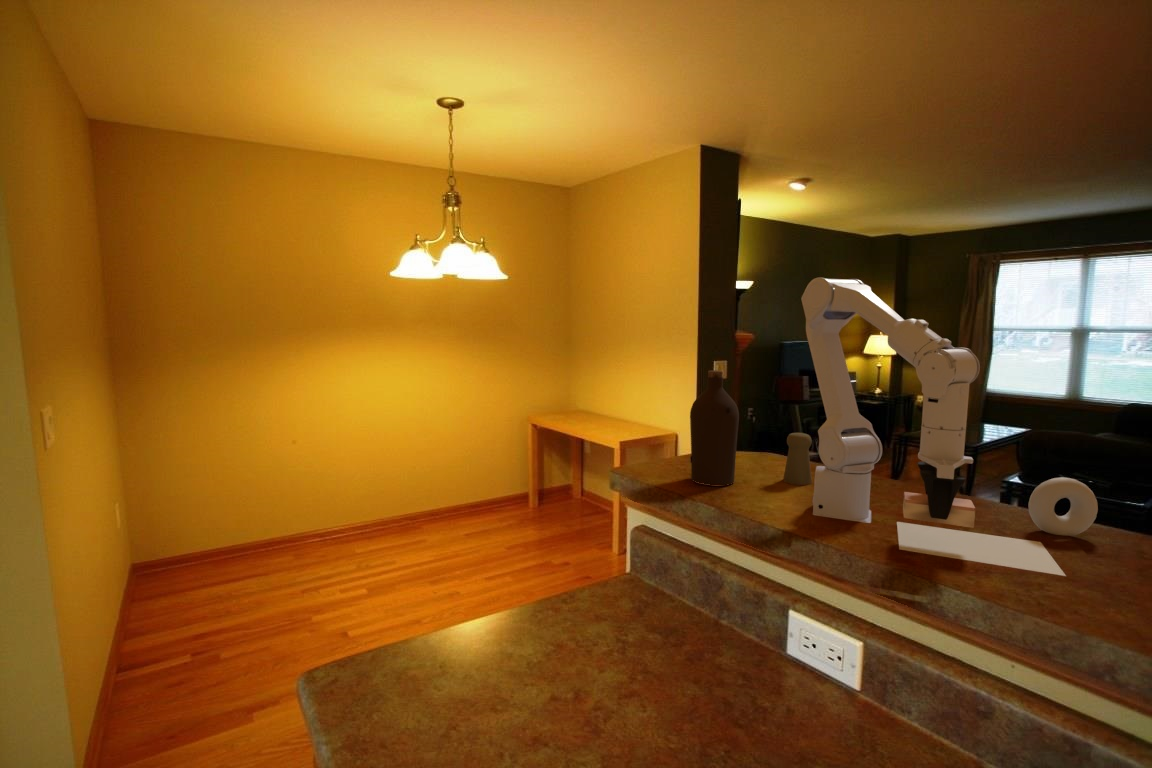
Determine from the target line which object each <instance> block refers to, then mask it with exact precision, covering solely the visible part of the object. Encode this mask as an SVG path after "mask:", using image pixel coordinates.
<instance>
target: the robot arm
mask: <svg viewBox="0 0 1152 768" xmlns="http://www.w3.org/2000/svg"><path fill="white" fill-rule="evenodd" d="M800 299H801V303H802V307H803V312H804V316H805V334H806V338H807V343H808V345H809V350H810V353H811V358H812V362H813V367H814V371H815V374H816V378H817V379H816V380H817V383H818V387H819V391H820V392H819V393H820V396H821V399H822V403H823V407H824V412H825V416H826V420H825V422H823V423H822V425H821V426H820V427H819V429H818V430H817V434H818V439H819V441H818V442H819V443H818V455H819V458H820V460H821V462H822V463H823V465H816V466H815V472H814V485H813V495H812V506H813V508H812V515H813V516H818V517H825V518H832V519H838V520H845V521H853V522H860V523H864V524H865V523H867V524H871V523H872V510H871V509H870V500H871V497H870V496H871V484H872V483H871V482H872V480H871V479H872V470H874V469H875V464H876V463H877V464H878V462H879V461H880V460H881V457H882V456H883V444H882V442H881V440H880V437H878V435H877V434H876V432H875V430H874V428H873V424H872V423H871V422H870V421H869V420H868V419H867V418H865V417H864V416H863V415H861V413H860V412H859V408H858V404H857V400H856V396H855V392H854V389H853V384H852V381H851V380H852V379H851V377H850V373H849V369H848V364H847V362H846V357H845V353H844V349H843V346H842V342H841V338H840V335H839V334H840V333H841V330H842V328H843V327H845V326H846V325H847V324H848V323H850V321H851V320H852V319H853V318H854V317H855V316H856V315H858V316H859V317H861V318H862V319H864V320H865V321H866V322H867V323H869V324H870V325H872V326H874V327H875V328H876V329H878V330H880V332H882V333H884V334H885V335H886V336H887V345H888V346H889V347H890V348H891V349H892V350H893V351H894V352H895V353H897V354H898V355H899V356H901V357H902V358H903V359H904V360H905V361H907V362H908V364H911V365H912V366H913V367H914V368H915V373H916V376H917V378H918V381H920V384H921V393H922V394H923V395H922V396H923V398H922V399H923V400H922V401H923V402H922V416H921V426H920V427H921V428H920V429H921V430H920V443H919V452H918V454H917V458H918V459H919V460H921V461H918V462H917V466H918V468H919V473H920V474H919V475H920V476H921V478H922V480H923V483H924V490H925V491H924V492H925V493H924V494H926V495H927V496H928V506H929V512H930V516H931V518H937V519H944V520H947V518H948V516H949V513H950V510H951V507H952V504H953V501H954V498H956V495H957V493H958V492H959V490H960V488H961V487H962V486H963V485H964V483H965V482H966V477H965V476H963V475H957V474H958V473H959V472H960V470H961V466H962V465H964V464H973V463H974V459H973V457H972V456H966V455H965V443H966V435H967V433H966V431H967V420H968V410H969V409H968V408H969V407H968V405H969V394H970V384H971V383H973V382H975V380H976V379H977V378H978V376H979V374H980V369H981V365H980V360H979V359H978V357H977V356H976V355H975V353H973V351H972V350H971V349H970V348H967V347H954V346H953V345H952V341H951V340H949V339H948V338H944V337H943V338H942V337H941V336H940V335H939V334H937V333H936V332H935V331H933V330H932V329H931V328H929V322H928V321H926V320H924V319H916V318H908V319H904V318H903V317H902V316H900V315H899V314H898V313H897V312H896V311H895V310H894V309H892V308H891V307H890V306H889V305H888V304H887V303H886V302H885V301H883V300H882V299H881V298H880V297H879V296H877V295H876V294H875V293H874V292H873V291H872V287H871V286H869V285H868V284H865V283H864V282H863V281H862V280H860V279H858V278H849V279H846V278H845V279H841V278H825V277H816V278H815V277H814V278H813V279H812V280H811V281H810V282H808V284H807V286H806V288H805V289H804V292H803V294H802V295H801V298H800Z"/></svg>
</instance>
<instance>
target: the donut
mask: <svg viewBox="0 0 1152 768" xmlns="http://www.w3.org/2000/svg"><path fill="white" fill-rule="evenodd" d="M1064 498H1066V499H1068V500H1069V503H1070V508H1069V510H1068V512H1066V514H1064V515H1057V514H1056V512H1055V506H1056V504H1057V503H1058V501H1060V500H1061V499H1064ZM1028 500H1029V501H1028V504H1027V505H1028V514H1029V516H1030V518H1031V520H1032V521H1033V523H1034V524H1035V526H1037V528H1039V529H1040V530H1041V531H1043V532H1044V533H1047V534H1051V535H1054V536H1055V535H1056V536H1070V537H1072V536H1077V535H1079V534H1082V533H1084V532H1085V531H1087V530H1088V529H1089V528H1090V527H1091V526H1092V525H1093V524H1094V522H1095V520H1096V518H1097V514H1098V511H1099V507H1098V500H1097V498H1096V495H1095V494H1094V492H1093V490H1091V488H1089V486H1088V485H1087V484H1085V483H1083V482H1081V481H1079V480H1078V479H1075V478H1070V477H1063V476H1061V477H1054V478H1051V479H1048V480H1045V481H1043V482H1041V483H1040V484H1039V485H1037V486H1036V487H1035V488H1034V490H1033V491H1032V493H1031V495H1030V497H1029V499H1028Z"/></svg>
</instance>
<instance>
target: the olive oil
mask: <svg viewBox="0 0 1152 768" xmlns="http://www.w3.org/2000/svg"><path fill="white" fill-rule="evenodd" d="M723 373H724V371H723V370H708V371H707V375H708V376H707V385H706V386H707V387H706V388H705V390H704V391H703V392H701V394H699V396H698V397H697V398H696V399H694V401H693V403H692V406H691V408H690V412H689V420H690V423H689V425H690V426H689V427H690V428H689V429H690V455H691V456H690V458H689V459H690V463H691V465H690V466H691V473H690V474H691V481H692V480H694V481H696V482H699V483H704V484H710V485H727V484H731V483H733V482H734V483H735V472H736V459H737V447H738V446H737V445H738V444H737V442H738V431H739V421H740V412H739V407H738V406H737V403H736V402H735V400H733V398H732V397H731V396H730V395H729V394H728V392H726V390H725V389H724V387H723V386H724V384H723V383H724V376H723ZM734 483H733V484H734ZM731 485H732V484H731Z"/></svg>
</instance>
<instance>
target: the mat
mask: <svg viewBox="0 0 1152 768" xmlns="http://www.w3.org/2000/svg"><path fill="white" fill-rule="evenodd" d="M896 526H897V528H896V529H897V530H896V531H897V539H898V550H902V551H907V552H913V553H914V552H915V553H918V554H919V553H920V554H927V555H931V556H938V557H945V558H949V559H958V560H961V561H969V562H975V563H981V564H988V565H994V566H1000V567H1004V568H1005V567H1006V568H1013V569H1019V570H1025V571H1029V572H1037V573H1044V574H1049V575H1055V576H1062V577H1067V575H1066V574H1065V572H1064V571H1063V569H1061V567H1060V566H1059V565H1058V563H1057V562H1056V561H1055V559H1054V558H1053V556H1052V555H1051V554H1050V553H1049V551H1048V550H1047V548H1046V547H1045V546H1044V544H1043V543H1042V542H1041V541H1035V540H1028V539H1023V538H1021V539H1020V538H1014V537H1013V538H1012V537H1007V536H999V535H992V534H987V533H979V532H972V531H964V530H957V529H950V528H943V527H938V526H930V525H924V524H923V525H922V524H916V523H908V522H902V521H896Z"/></svg>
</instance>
